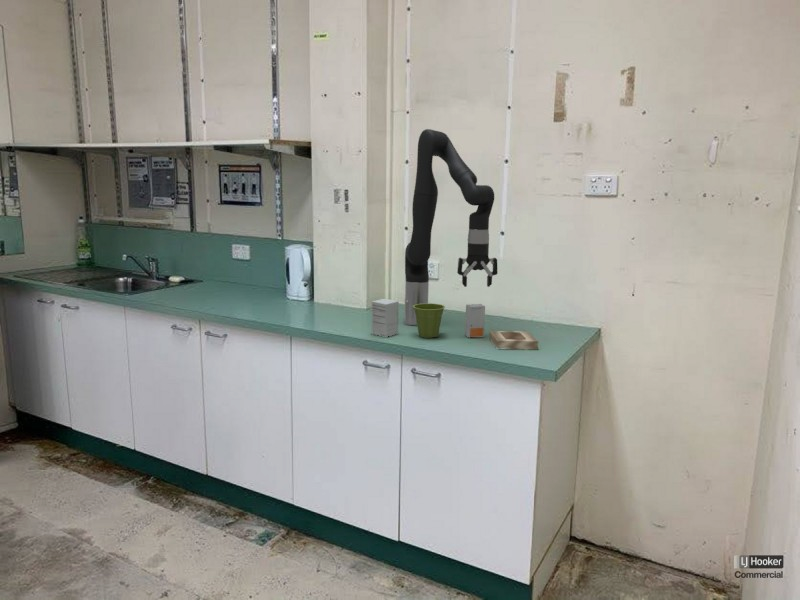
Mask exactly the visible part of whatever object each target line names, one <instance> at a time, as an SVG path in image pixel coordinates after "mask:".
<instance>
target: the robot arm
mask: <svg viewBox="0 0 800 600" xmlns="http://www.w3.org/2000/svg"><path fill="white" fill-rule="evenodd" d="M418 137H419V138H418V142H417V154H416V155H417V157H416V158H417V159H416V160H417V161H416V175H415V185H414V191H413V198H412V207H411V208H412V232H411V237H410V241H409V243H408V244H407V245H406V247H405V252H404V255H405V256H404V272H405V273H404V274H405V275H404V276H405V285H404V286H405V287H404V288H405V290H404V292H405V294H404V312H403V313H404V314H403V315H404V316H403V318H404V319H403V320H404V325H409V326H417V320H416V314H415V310H414V308H413V305H416V304H424V303H429V286H430V285H429V282H430V280H429V279H430V278H429V277H430V275H429V274H430V273H429V259H430V258H431V247H432V246H431V242H432V230H433V225H434V224H433V223H434V220H435V214H436V211H437V210H436V209H437V204H438V196H439V189H438V185H437V181H436V178H435V175H434V171H433V158H434V157H438V158H440V159H441V160H443V161H444V162H445V164H446V165H447V169H448V173H449V175H450V177H451V178H452V180H453V181H454V183H455V184H456V185H457V186H458V188H460V192H461V193H462V196H463V198H464V200H465V202H466V203H468V204H469V205H471V206H473V207H474V206H477V209H476V211H474V212H471V213H470V214H469V217H468V219H469V220H468V234H467V254H466V255H467V257H466V258H462V257H459V258H458V259H457V272H456V273H457V274H458V275H459V276H462V277H461V279H462V280H461V283H462V285H463V287H464V288H466V287H467V286H468V275H469V273H470V272H471V271H472V270H473V271H477V270H478V271H483V270H484V271H485V273H486V274H487V277H486V287H488V288H489V287H491V286H492V284H493V276H497V275H498V259H497V258H496V257H492V258H490V257H489V253H490V251H489V248H490V247H489V243H490V234H489V232H490V231H489V230H490V229H489V227H490V226H489V225H490V217H491V216H490V215H491V213H492V209H493V207H494V206H493V205H494V202H495V192H494V189H493V187H491V186H490V185H485V184H484V185H482V184H480V185H479V184H478V185H477V183H478V178H477V175H476V174H475V173H474V171H473V170H472V169H471V168H470V167H469V166H468V165H467V164H466V163H465V161H464V160H463V159H462V157H461V156H460V155H459V153H458V151H457V149H456V148H455V146H454V144H453V143H452V141H451V139H450V137H449V136H448V135H447V134H446V133H444V132H443V131H439V130H435V129H431V128H430V129H428V128H425V129H423V131H421V133H420V135H419V136H418ZM465 263H466V264H467V266H466V267H465V270H464V271H463V265H464V264H465ZM489 263H490V264H491V265H492V271H491V270H490V269H489V267H488V264H489Z"/></svg>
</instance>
